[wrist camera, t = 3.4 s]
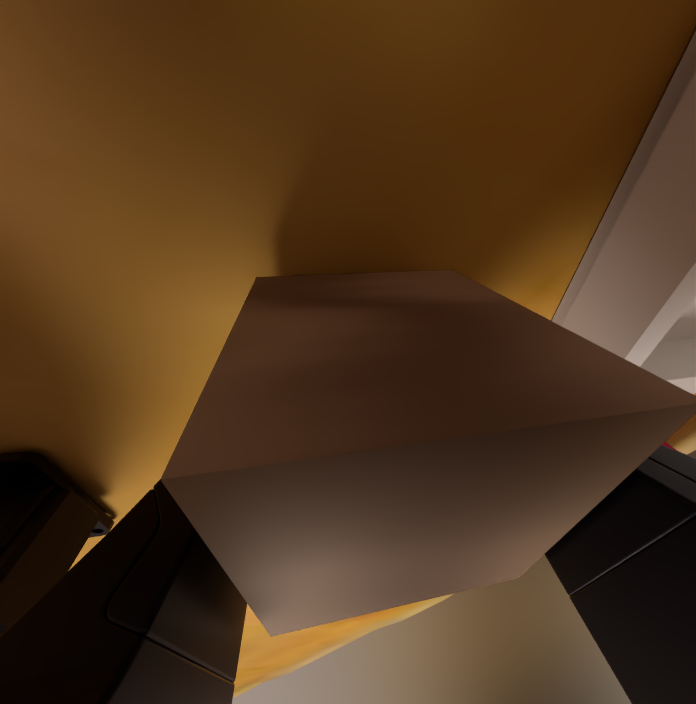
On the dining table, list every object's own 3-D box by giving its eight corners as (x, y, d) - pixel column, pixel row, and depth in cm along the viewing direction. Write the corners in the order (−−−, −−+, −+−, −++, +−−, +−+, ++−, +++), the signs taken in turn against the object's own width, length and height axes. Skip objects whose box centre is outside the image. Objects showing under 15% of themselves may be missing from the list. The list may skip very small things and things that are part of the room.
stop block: (283, 422, 10) (270, 636, 5) (256, 277, 7) (161, 480, 2) (420, 406, 11) (518, 577, 6) (452, 269, 8) (708, 401, 3)
